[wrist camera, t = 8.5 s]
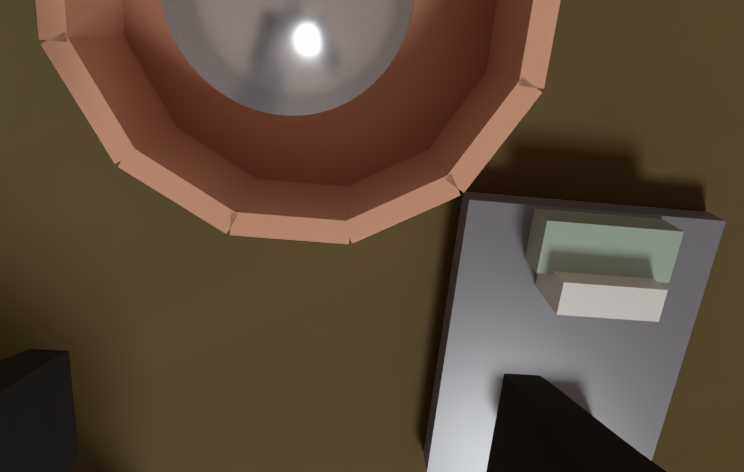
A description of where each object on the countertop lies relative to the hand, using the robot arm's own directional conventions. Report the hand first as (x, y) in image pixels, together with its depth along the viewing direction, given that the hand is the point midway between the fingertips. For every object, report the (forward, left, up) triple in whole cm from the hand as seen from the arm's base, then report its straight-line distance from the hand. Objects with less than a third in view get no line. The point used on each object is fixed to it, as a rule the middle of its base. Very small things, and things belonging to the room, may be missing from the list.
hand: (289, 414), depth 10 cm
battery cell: (0, +7, -9) cm, 11 cm away
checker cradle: (+8, -3, -9) cm, 13 cm away
